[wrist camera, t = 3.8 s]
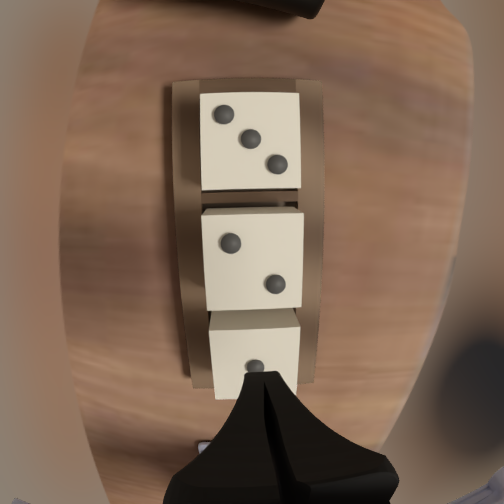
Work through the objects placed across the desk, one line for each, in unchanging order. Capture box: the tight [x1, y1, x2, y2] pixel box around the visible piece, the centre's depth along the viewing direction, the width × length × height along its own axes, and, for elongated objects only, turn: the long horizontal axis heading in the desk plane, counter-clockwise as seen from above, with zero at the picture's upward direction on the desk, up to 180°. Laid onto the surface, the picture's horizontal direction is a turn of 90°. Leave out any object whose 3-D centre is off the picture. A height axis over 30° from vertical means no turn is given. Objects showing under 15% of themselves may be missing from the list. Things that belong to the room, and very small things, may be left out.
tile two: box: [201, 207, 304, 311], centre depth 17 cm, size 5×5×3 cm
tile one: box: [209, 308, 300, 399], centre depth 19 cm, size 5×5×3 cm
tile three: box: [200, 92, 301, 190], centre depth 16 cm, size 5×5×3 cm
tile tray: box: [172, 78, 324, 388], centre depth 19 cm, size 20×9×1 cm, turn 1°
